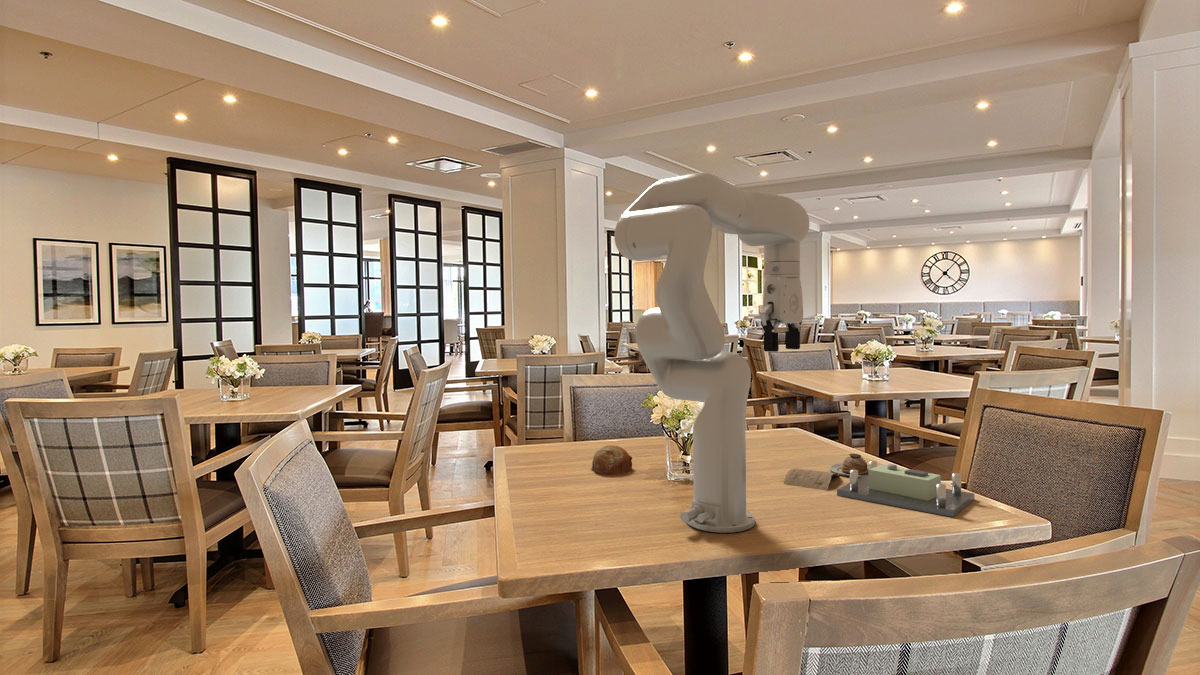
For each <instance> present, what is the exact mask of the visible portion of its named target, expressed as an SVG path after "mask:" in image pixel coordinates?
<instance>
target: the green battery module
mask: <svg viewBox="0 0 1200 675" xmlns="http://www.w3.org/2000/svg"><path fill="white" fill-rule="evenodd" d="M867 473H868V475H867V476H868V488H869V489H874V490H879V491H884V492H889V493H893V494H898V495H903V496H908V497H912V498H917V499H922V500H927V501H928V500H930V499H933V498H935V497H936V484H942V482H941V481H942V480H941V478H942V475H940V474H936V473H932V472H928V471H925V470H923V471H922V470H919V469H912V468H909V469H907V468H902V467H898V466H897V465H896V464H891V463H889V464H887V465H886V464H881V465H877V467H874V468H871V469H868V472H867Z"/></svg>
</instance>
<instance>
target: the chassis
mask: <svg viewBox="0 0 1200 675" xmlns="http://www.w3.org/2000/svg"><path fill="white" fill-rule="evenodd" d="M868 465H869V469H871V468H874V467H877V466H878V461H876V460H869V461H868ZM849 475H850V476H849V483H847V484H844V485H843V486H840V487H839V488H837V489H836V496H838V497H844V498H850V499H856V500H859V501H860V500H861V501H865V502H866V501H867V502H871V503H875V504H882V505H887V506H892V507H898V508H903V509H908V510H912V511H919V512H924V513H929V514H934V515H940V516H944V517H945V516H946V517H949V518H955V517H956V516H957V515H958V514H959V513H960V512H962V511H963V510H964V509H965V508H966V507H967V506H969V504H971V503H972V502H973V501H974V500H975V492H968V491H962V473H960V472H959V473H958V472H952V473H951V489H948V488H947V485H946V484H945V483H941V484H936V497H935V498H933V499H930V500H928V501H927V500H922V499H917V498H912V497H908V496H903V495H898V494H893V493H889V492H884V491H879V490H874V489H869V488H868V475H865V474H863V475H861V476H862V477H861V478H858V476H859V475H858V470H850V474H849Z"/></svg>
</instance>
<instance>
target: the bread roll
mask: <svg viewBox="0 0 1200 675" xmlns="http://www.w3.org/2000/svg"><path fill="white" fill-rule="evenodd" d="M632 461H633V457H632V455H630V454H629V453H628V451H627V450H626V449H624V448H623V447H620V446H618V445H612V444H607V445H604V446H602V447H600V448H599V449H597V451H596V452H594V455H593V456H592V465H591V469H592V470H591V469H590V470H591V471H593V470H594V472H595V471H596V472H595V473H598V474H600V473H602V474H601V475H620V474H625V473H628V472H630V471H631V469H632V467H633V462H632ZM619 473H620V474H619Z"/></svg>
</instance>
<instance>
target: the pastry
mask: <svg viewBox="0 0 1200 675" xmlns="http://www.w3.org/2000/svg"><path fill="white" fill-rule="evenodd" d="M828 469H829V471H831V473H833V472H834V473H838V474H839V476H842V475H843V476H844V477H850V474H849V473H850V470H858V479H859V478H861V477H862V476H864V475H865V474H866V475H867V473H868V469H869V464H868V462H867V461H866V460H865V459H864V458H863V457H862V455H861V454H858V453H850V454H849V456H848V457H845V459H844V460H843V463H841V462H840V463H839V462H838V463H836V464H832V465H830V466H829V467H828ZM839 469H841V470H839ZM838 470H839V471H838ZM840 471H842V472H840ZM845 472H846V473H845ZM843 476H842V477H843Z"/></svg>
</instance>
